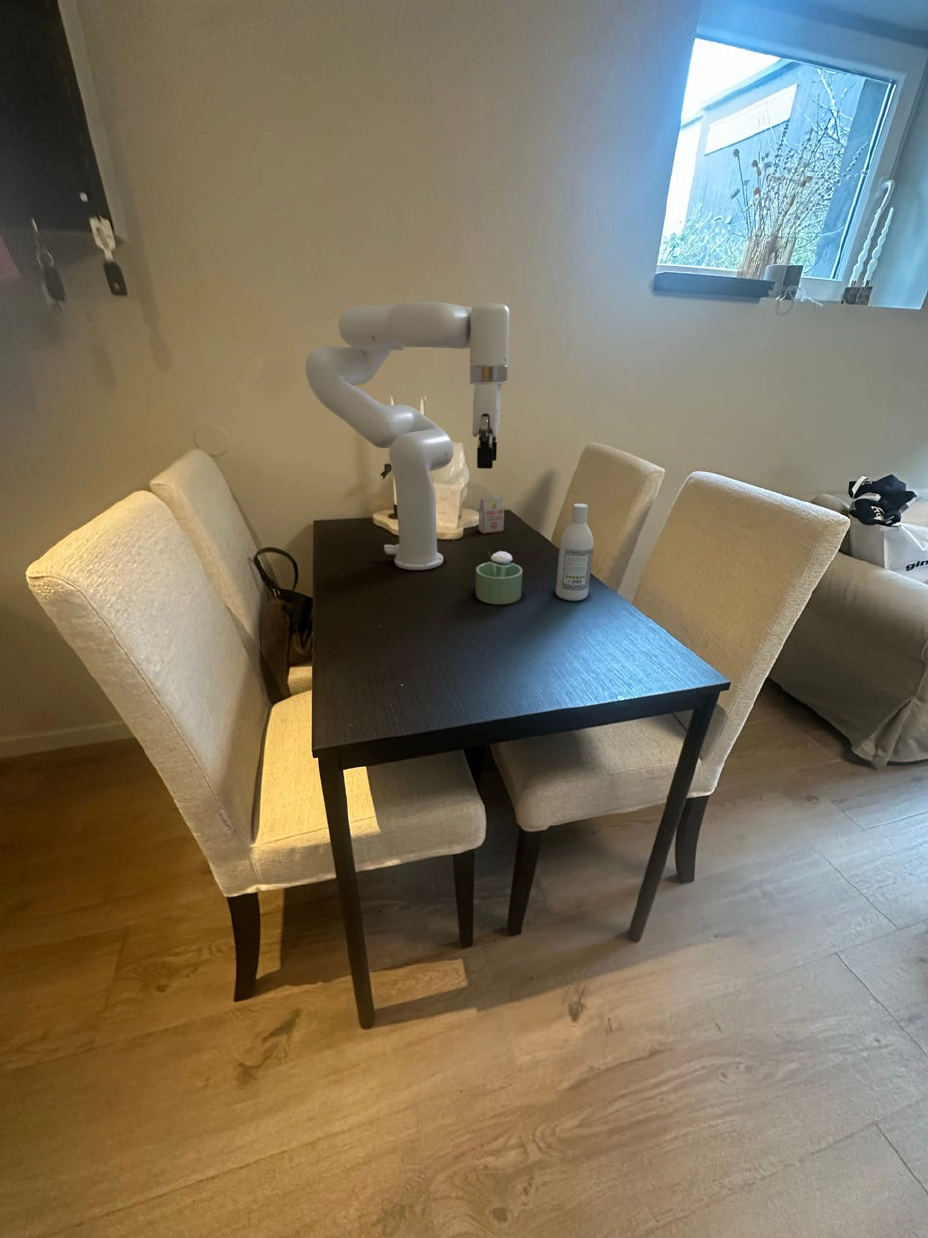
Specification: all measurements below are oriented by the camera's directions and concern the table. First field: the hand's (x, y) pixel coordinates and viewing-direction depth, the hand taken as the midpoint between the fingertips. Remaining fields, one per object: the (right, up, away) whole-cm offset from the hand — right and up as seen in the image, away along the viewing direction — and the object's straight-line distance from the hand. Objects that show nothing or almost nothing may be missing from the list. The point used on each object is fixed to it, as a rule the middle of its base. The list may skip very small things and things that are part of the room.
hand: (487, 464), depth 108 cm
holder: (+3, -28, +3) cm, 28 cm away
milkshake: (+3, -28, +2) cm, 28 cm away
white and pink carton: (+3, -6, +46) cm, 46 cm away
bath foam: (+19, -28, +2) cm, 34 cm away
